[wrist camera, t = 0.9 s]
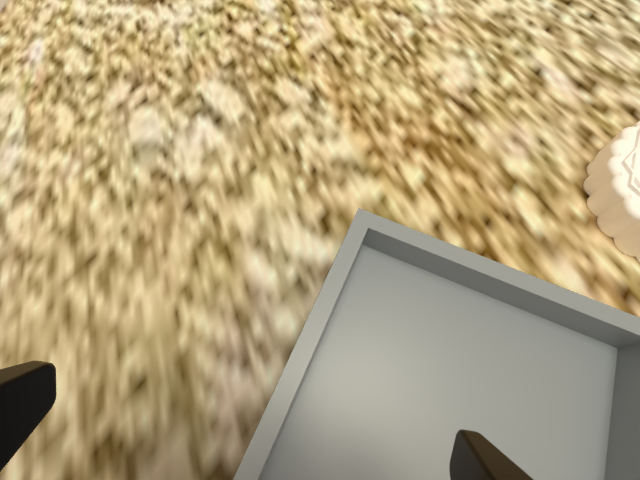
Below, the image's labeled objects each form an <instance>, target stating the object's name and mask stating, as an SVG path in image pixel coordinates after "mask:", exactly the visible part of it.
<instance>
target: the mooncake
mask: <svg viewBox="0 0 640 480" xmlns="http://www.w3.org/2000/svg"><path fill="white" fill-rule="evenodd" d="M587 174H588V175H589V177H587V178H586V179H585V181H584V183H583V187H584V190H585V192H586V193H587V194H588V195H589V197H588V199H587V207H588V209H589V210H590V212H591V213H592V214H594V215H595V216H597V217H598V218H597V225H598V227H599V229H600V230H601V231H602V232H603V233H604V234H605V235H607V236H609V237H612V238H613V240H614V244H615V245H616V247H617V248H618V249H619V250H620V251H621V252H622V253H624V254H626V255H628V256H635V257H636V259H637V261H638V262H639V263H640V121H639V122H637V123H636V124H635V125H634V126H633V127H627V128H625V129H623V130H622V131H621V132H620V133H618V134H617V135H616V136H615V137H614V138H613V139H612V140H611V141H610V142H609V143H608V144H607V145H605V146H604V147H603V148H602V149H601V150H600V151H599V152H598V153H597V155H596V158H595V159H594V160H593V161H592V162H590V163H589V164H588V166H587Z"/></svg>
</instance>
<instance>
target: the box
mask: <svg viewBox="0 0 640 480" xmlns="http://www.w3.org/2000/svg"><path fill="white" fill-rule="evenodd" d="M460 429H464V430H470V431H476V432H479V433H480V434H481V435H483V436H484V437H485V438H486V439H487V440H488V441H490V442H491V443H492V444H493V445H494V446H495V447H497V448H498V449H499V450H500V451H501V452H502V453H504V454H505V455H506V456H507V457H508V458H509V459H510V460H512V461H513V462H514V463H515V464H516V465H517V466H519V467H520V468H521V469H522V470H523V471H524V472H526V473H527V474H528V475H529V476H530V477H531V478H532V479H534V480H640V318H639V317H637V316H634V315H631V314H629V313H626V312H624V311H621V310H619V309H616V308H613V307H611V306H608V305H606V304H603V303H601V302H598V301H596V300H593V299H590V298H588V297H585V296H583V295H580V294H578V293H575V292H572V291H570V290H567V289H565V288H562V287H560V286H557V285H555V284H552V283H549V282H547V281H544V280H542V279H539V278H537V277H534V276H531V275H529V274H526V273H524V272H521V271H519V270H516V269H514V268H511V267H508V266H506V265H503V264H501V263H498V262H496V261H493V260H490V259H488V258H485V257H483V256H480V255H478V254H475V253H473V252H470V251H467V250H465V249H462V248H460V247H457V246H455V245H452V244H449V243H447V242H444V241H442V240H439V239H437V238H434V237H432V236H429V235H426V234H424V233H421V232H419V231H416V230H414V229H411V228H408V227H406V226H403V225H401V224H398V223H396V222H393V221H391V220H388V219H385V218H383V217H380V216H378V215H375V214H373V213H370V212H367V211H365V210H362V209H360V208H359V209H358V211H357V213H356V215H355V217H354V219H353V221H352V224H351V226H350V228H349V230H348V232H347V234H346V237H345V239H344V241H343V243H342V245H341V247H340V250H339V252H338V254H337V256H336V258H335V260H334V263H333V265H332V267H331V269H330V271H329V273H328V276H327V278H326V280H325V282H324V284H323V286H322V288H321V291H320V293H319V295H318V297H317V299H316V301H315V304H314V306H313V308H312V310H311V312H310V314H309V317H308V319H307V321H306V323H305V325H304V327H303V330H302V332H301V334H300V336H299V338H298V340H297V343H296V345H295V347H294V349H293V351H292V353H291V355H290V358H289V360H288V362H287V364H286V366H285V368H284V371H283V373H282V375H281V377H280V379H279V381H278V384H277V386H276V388H275V390H274V392H273V394H272V397H271V399H270V401H269V403H268V405H267V407H266V410H265V412H264V414H263V416H262V418H261V420H260V422H259V425H258V427H257V429H256V431H255V433H254V435H253V438H252V440H251V442H250V444H249V446H248V448H247V451H246V453H245V455H244V457H243V459H242V461H241V464H240V466H239V468H238V470H237V472H236V474H235V477H234V479H233V480H451V479H450V471H449V465H450V458H451V454H452V450H453V446H454V441H455V437H456V434H457V432H458V431H459V430H460Z"/></svg>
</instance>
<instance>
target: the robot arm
mask: <svg viewBox="0 0 640 480" xmlns="http://www.w3.org/2000/svg"><path fill="white" fill-rule="evenodd" d="M55 399H56V368H55V366H54V365H53V364H52V363H48V362H42V361H30V362H26V363H23V364H19V365H15V366H12V367H8V368H4V369H1V370H0V471H1V470H2V469H3V468H4V467H5V465H6V464H7V463H8V462H9V461H10V459H11V458H12V457H13V456H14V454H15V453H16V452H17V451H18V449H19V448H20V447H21V446H22V444H23V443H24V442H25V441H26V439H27V438H28V437H29V435H30V434H31V433H32V432H33V430H34V429H35V428H36V427H37V425H38V424H39V423H40V422H41V420H42V419H43V418H44V417H45V415H46V414H47V413H48V412H49V410H50V409H51V408H52V406H53V404H54V402H55ZM449 471H450V479H451V480H534V479H532V478H531V477H530V476H529V475H528V474H527V473H526V472H524V471H523V470H522V469H521V468H520V467H519V466H517V465H516V464H515V463H514V462H513V461H512V460H510V459H509V458H508V457H507V456H506V455H505V454H504V453H502V452H501V451H500V450H499V449H498V448H497V447H495V446H494V445H493V444H492V443H491V442H490V441H488V440H487V439H486V438H485V437H484V436H483V435H481V434H480V433H479V432H476V431H470V430H464V429H460V430H459V431H458V432H457V434H456V437H455V441H454V446H453V450H452V454H451V458H450V465H449Z"/></svg>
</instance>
